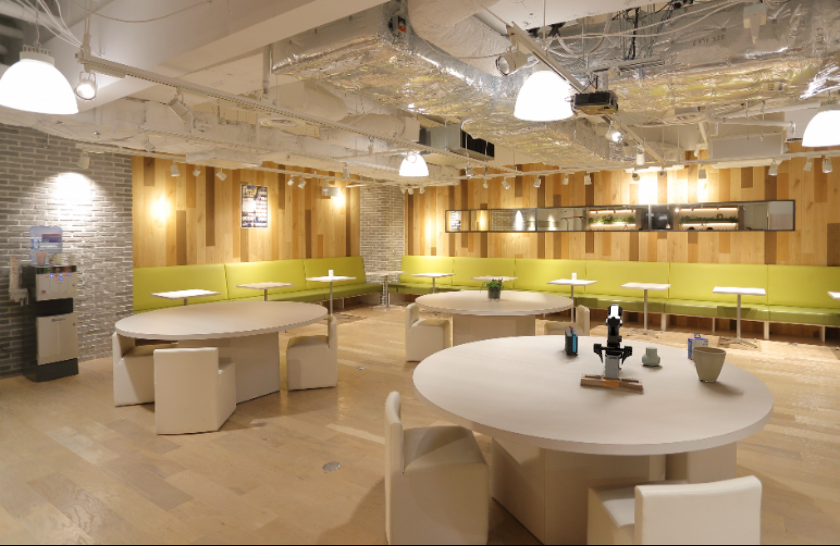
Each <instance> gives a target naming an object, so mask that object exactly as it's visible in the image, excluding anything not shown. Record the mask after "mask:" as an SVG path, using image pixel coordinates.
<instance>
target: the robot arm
mask: <svg viewBox="0 0 840 546" xmlns="http://www.w3.org/2000/svg"><path fill="white" fill-rule="evenodd" d="M606 310H607V311H606V312H607V313H606V315H607V318H606V319H605V326H607V338H606V339H607V340H606V346H604V345H602V343H599V342H595V343H593V353H594V354H596V355H598V357H599V359H600V362H601V364H604V358H605V357H612V358H618V370H622V367H620V360H621V366H623V364H624V363H625V361H626V359H628V358H630V357H633V346H632V345H626V344H625V345H624V346H623V347H621V343H622V341H623V335H620V329H621V327H622V326H624V325H623V324H624V323H623V321H622V317H624V316H623V315H624V312H623V311H624V309H623V307H622V306H620V304H613V303H612V304H610V306H608V307H607V309H606ZM603 351H604V355H605V356H604V358H603Z"/></svg>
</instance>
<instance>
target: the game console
mask: <svg viewBox="0 0 840 546" xmlns="http://www.w3.org/2000/svg"><path fill="white" fill-rule="evenodd" d="M568 326H569V327H568V328H569V329H565V330H564V332H565V333H564V350H565V353H567V354H566V355H567V356H578V353H579V350H578V349H579V348H578V347H579V336H578V333H577V330H576V329H575V328H574V325H568Z"/></svg>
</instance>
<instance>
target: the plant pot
mask: <svg viewBox="0 0 840 546" xmlns="http://www.w3.org/2000/svg"><path fill="white" fill-rule="evenodd" d="M726 356H727V350H725V349H722V348H717V347H712V346H708V347H702V346H698V347H693V357H694V360H693V361H694V366H695V367H694V368H695V370H696V374H697V376H698V379H699V380H700V381H701V380H703V381H702V382H704V381H707V383H715V382H714V381H716V382H717V381H718V378H719V376H720V374H721V372H722V370H723V366H724V364H725V360H726Z"/></svg>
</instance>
